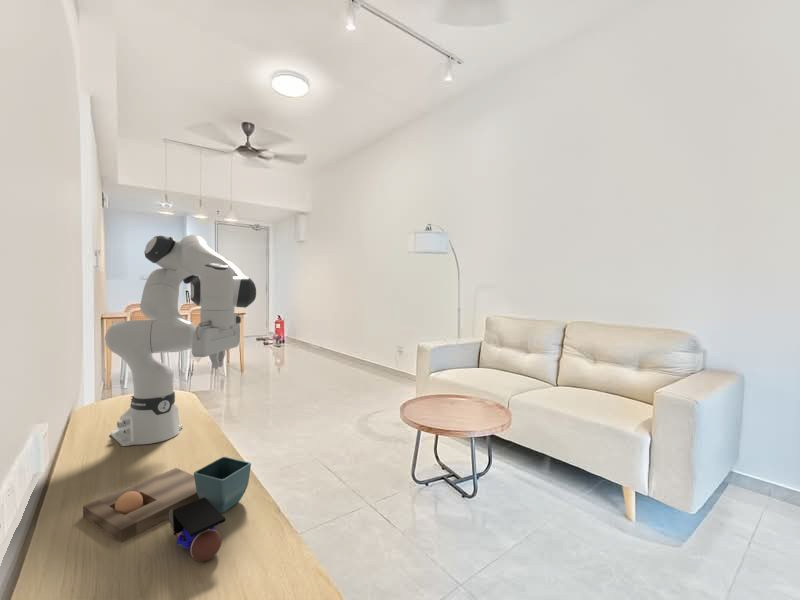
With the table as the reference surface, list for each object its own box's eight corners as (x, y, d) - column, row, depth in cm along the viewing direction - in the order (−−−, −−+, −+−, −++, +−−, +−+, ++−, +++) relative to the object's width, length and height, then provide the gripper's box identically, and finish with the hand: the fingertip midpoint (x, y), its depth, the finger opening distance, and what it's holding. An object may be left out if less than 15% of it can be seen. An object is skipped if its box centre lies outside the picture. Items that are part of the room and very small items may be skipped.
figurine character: (165, 542, 76) (191, 574, 65) (164, 504, 76) (189, 529, 66) (201, 527, 81) (230, 554, 70) (200, 491, 81) (228, 512, 71)
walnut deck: (83, 517, 81) (83, 505, 81) (175, 477, 98) (175, 467, 98) (121, 542, 73) (121, 529, 73) (214, 494, 91) (214, 484, 91)
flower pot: (222, 521, 81) (222, 480, 80) (192, 511, 84) (192, 472, 83) (252, 499, 89) (252, 462, 88) (223, 492, 92) (223, 456, 92)
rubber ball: (126, 486, 81) (143, 485, 86) (105, 502, 80) (124, 500, 85) (134, 507, 79) (151, 505, 84) (113, 523, 78) (131, 521, 83)
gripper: (208, 323, 97) (208, 375, 98) (244, 317, 118) (243, 360, 118) (185, 322, 97) (185, 375, 98) (224, 316, 118) (224, 360, 118)
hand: (217, 367), depth 108 cm, fingers closed
